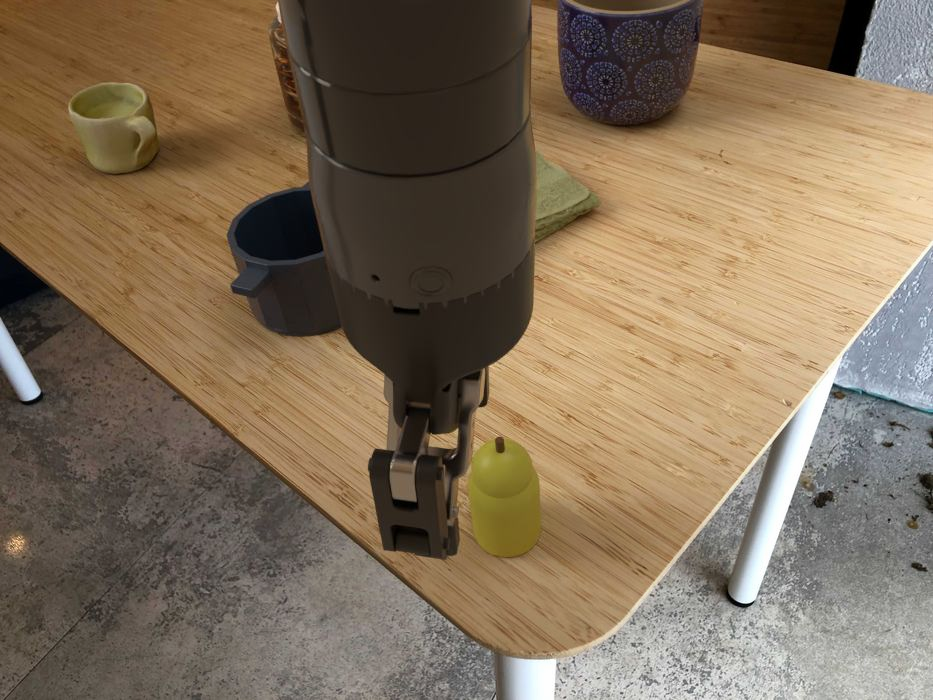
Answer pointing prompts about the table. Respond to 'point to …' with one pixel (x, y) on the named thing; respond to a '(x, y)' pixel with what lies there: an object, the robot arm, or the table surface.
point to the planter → (627, 56)
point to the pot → (283, 264)
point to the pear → (504, 498)
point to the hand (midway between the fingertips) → (452, 469)
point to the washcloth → (559, 198)
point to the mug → (115, 126)
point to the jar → (285, 74)
